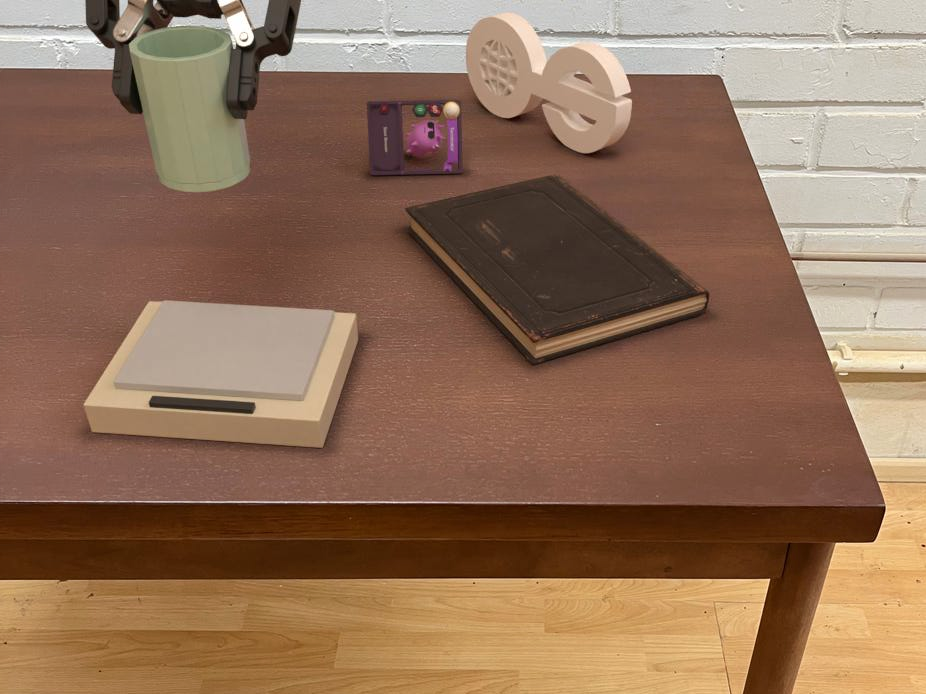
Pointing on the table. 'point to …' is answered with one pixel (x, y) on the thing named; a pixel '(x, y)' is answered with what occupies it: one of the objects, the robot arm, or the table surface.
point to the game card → (412, 135)
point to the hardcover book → (553, 267)
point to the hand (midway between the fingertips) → (183, 111)
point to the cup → (190, 108)
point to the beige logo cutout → (548, 82)
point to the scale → (226, 374)
